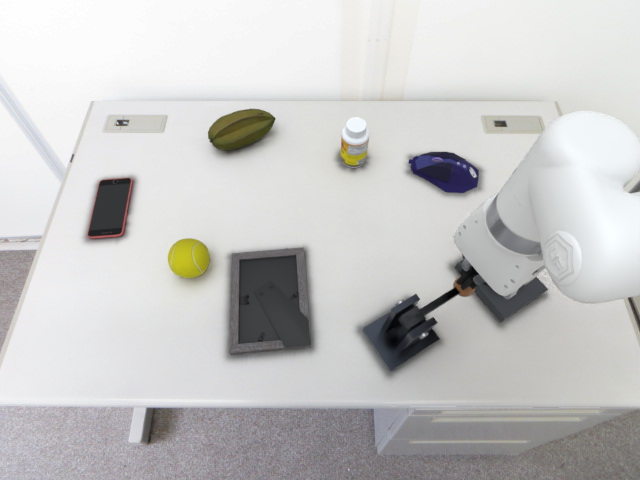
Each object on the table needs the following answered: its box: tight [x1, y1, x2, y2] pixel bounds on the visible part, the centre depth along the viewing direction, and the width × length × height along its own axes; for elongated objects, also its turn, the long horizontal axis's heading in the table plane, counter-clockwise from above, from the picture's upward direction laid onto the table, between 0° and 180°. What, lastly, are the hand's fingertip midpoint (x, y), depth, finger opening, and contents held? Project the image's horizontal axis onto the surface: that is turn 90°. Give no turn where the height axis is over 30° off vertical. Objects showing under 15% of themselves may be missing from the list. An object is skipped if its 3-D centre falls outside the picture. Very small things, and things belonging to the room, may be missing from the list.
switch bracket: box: [362, 293, 441, 373], centre depth 58 cm, size 10×8×12 cm
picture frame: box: [228, 247, 312, 356], centre depth 66 cm, size 13×2×18 cm
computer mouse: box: [408, 151, 480, 194], centre depth 78 cm, size 9×15×4 cm, turn 75°
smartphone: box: [86, 177, 133, 239], centre depth 76 cm, size 7×1×14 cm
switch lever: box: [399, 276, 475, 332], centre depth 56 cm, size 13×3×3 cm, turn 121°
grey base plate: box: [454, 258, 549, 323], centre depth 66 cm, size 12×10×4 cm
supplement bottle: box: [340, 116, 371, 169], centre depth 77 cm, size 6×6×10 cm
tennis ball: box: [167, 237, 211, 279], centre depth 67 cm, size 7×7×7 cm
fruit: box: [207, 108, 276, 151], centre depth 81 cm, size 11×12×7 cm
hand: (467, 281), depth 56 cm, fingers closed
